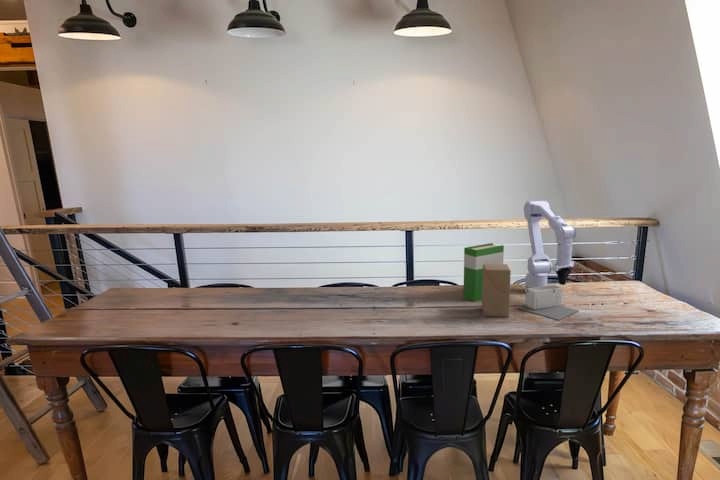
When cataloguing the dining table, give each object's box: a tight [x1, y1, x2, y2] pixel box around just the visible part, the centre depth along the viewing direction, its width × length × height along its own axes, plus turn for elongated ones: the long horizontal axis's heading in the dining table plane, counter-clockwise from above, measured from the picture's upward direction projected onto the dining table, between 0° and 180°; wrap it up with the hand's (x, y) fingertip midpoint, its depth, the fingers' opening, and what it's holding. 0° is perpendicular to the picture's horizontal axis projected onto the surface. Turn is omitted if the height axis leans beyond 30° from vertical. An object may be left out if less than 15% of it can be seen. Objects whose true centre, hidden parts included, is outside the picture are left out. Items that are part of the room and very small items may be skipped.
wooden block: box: [481, 263, 512, 318], centre depth 181 cm, size 10×10×20 cm
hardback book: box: [463, 242, 505, 303], centre depth 203 cm, size 18×7×24 cm, turn 120°
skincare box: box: [525, 284, 564, 310], centre depth 188 cm, size 8×6×15 cm
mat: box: [518, 304, 580, 322], centre depth 184 cm, size 18×16×1 cm
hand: (562, 284), depth 188 cm, fingers closed
